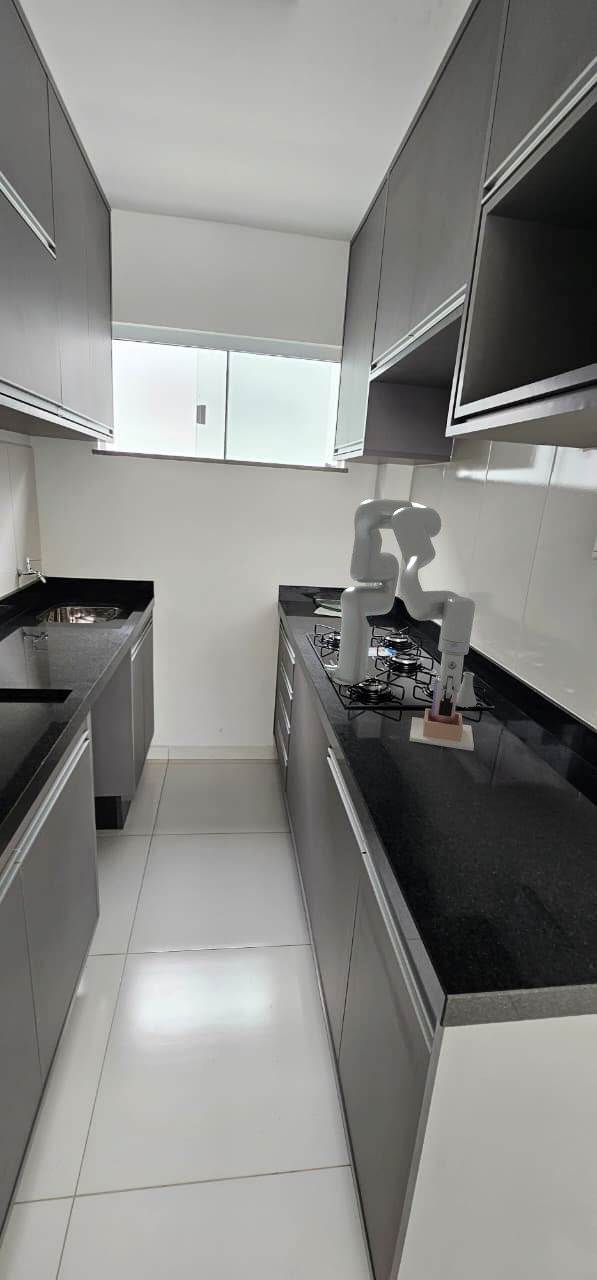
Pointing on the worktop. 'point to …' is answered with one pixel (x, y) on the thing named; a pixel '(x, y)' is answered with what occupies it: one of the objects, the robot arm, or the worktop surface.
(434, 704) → the beverage can
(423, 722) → the socket plate
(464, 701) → the flask
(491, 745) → the worktop surface
